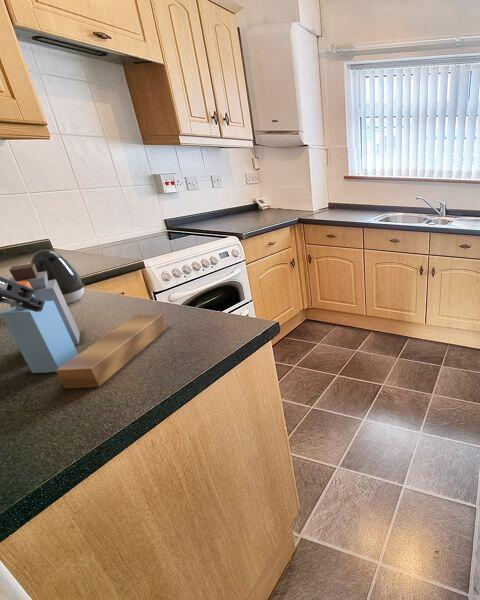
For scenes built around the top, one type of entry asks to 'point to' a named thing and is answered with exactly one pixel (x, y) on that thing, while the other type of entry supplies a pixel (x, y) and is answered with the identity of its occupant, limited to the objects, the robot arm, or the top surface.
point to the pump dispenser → (60, 273)
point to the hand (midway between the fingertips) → (15, 307)
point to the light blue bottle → (40, 336)
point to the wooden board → (111, 352)
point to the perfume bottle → (46, 294)
